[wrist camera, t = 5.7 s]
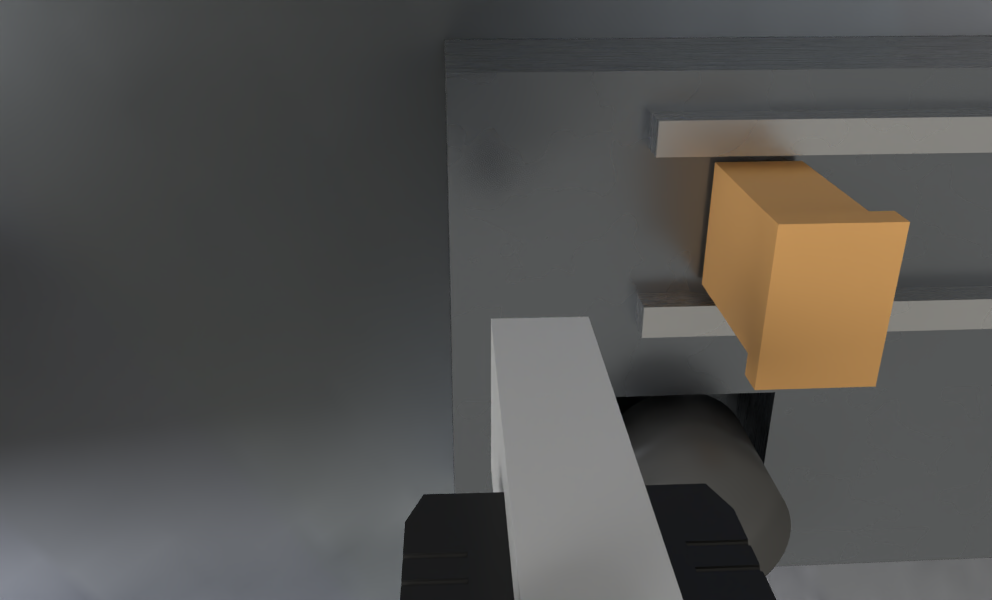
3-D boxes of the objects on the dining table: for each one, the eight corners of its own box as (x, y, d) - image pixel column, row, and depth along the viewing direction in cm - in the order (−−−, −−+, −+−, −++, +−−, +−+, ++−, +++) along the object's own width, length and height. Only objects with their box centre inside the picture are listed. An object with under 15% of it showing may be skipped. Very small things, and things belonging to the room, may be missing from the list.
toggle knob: (693, 291, 21) (754, 390, 17) (707, 154, 20) (778, 224, 16) (790, 289, 22) (875, 386, 17) (812, 151, 20) (910, 221, 16)
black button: (596, 514, 25) (620, 605, 22) (604, 393, 23) (630, 472, 20) (736, 510, 25) (778, 598, 22) (753, 388, 24) (802, 466, 21)
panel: (454, 482, 29) (457, 600, 24) (444, 40, 23) (446, 80, 18) (1158, 457, 30) (1294, 564, 26) (1319, 33, 24) (1535, 69, 20)
